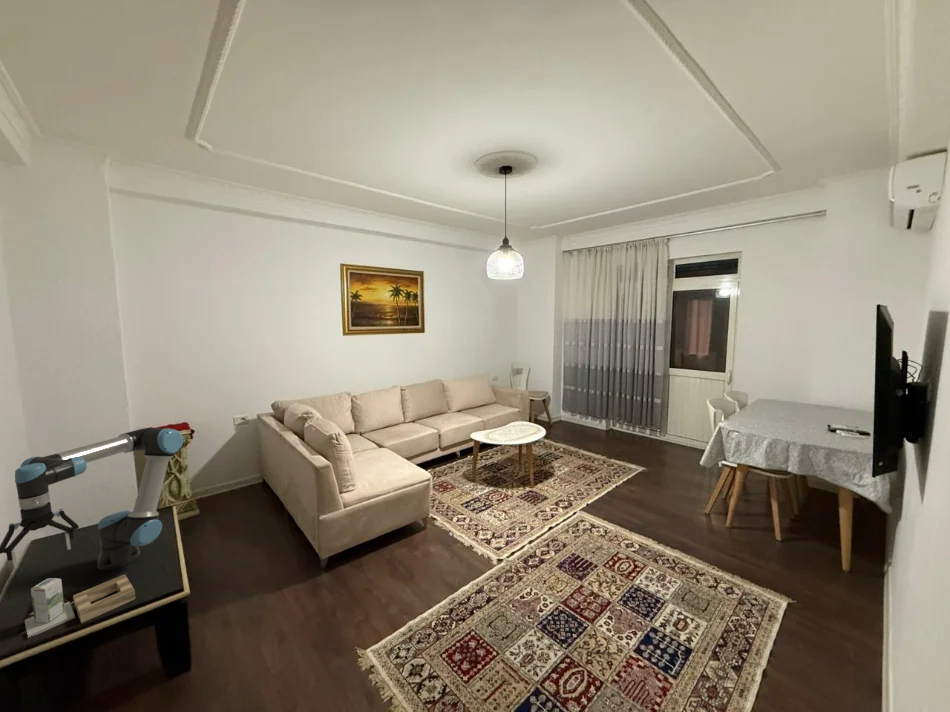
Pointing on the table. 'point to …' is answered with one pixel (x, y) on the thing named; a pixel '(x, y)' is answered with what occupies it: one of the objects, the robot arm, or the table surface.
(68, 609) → the mat
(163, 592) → the table surface
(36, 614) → the syrup box
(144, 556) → the table surface
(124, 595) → the socket block
